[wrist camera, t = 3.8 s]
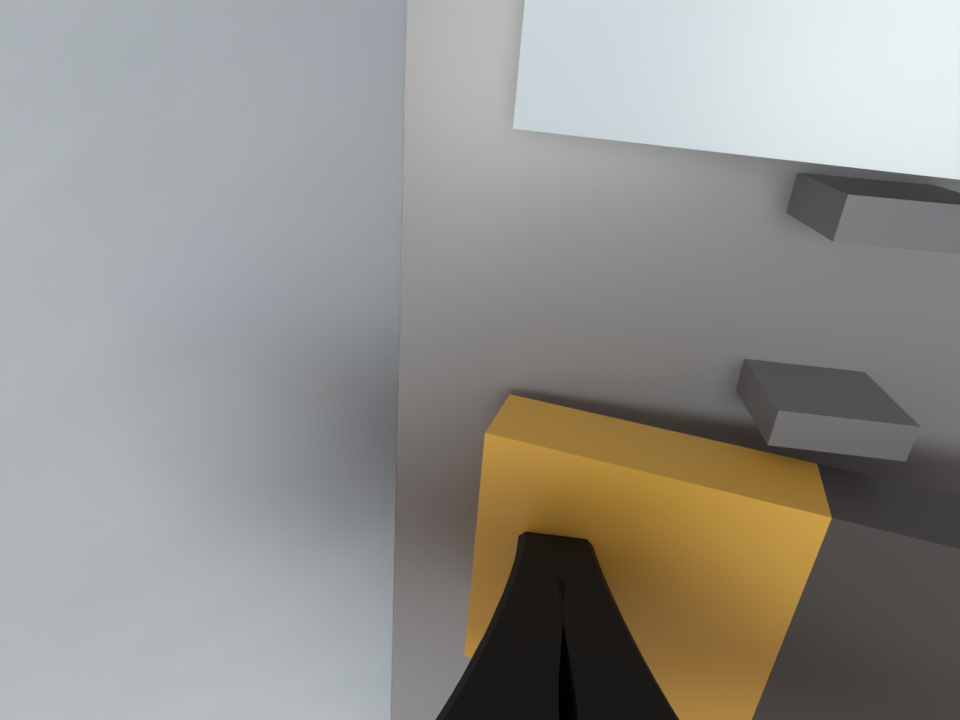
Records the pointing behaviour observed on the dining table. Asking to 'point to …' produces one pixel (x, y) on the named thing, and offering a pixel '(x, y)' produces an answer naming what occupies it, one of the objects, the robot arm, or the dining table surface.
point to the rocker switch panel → (640, 309)
